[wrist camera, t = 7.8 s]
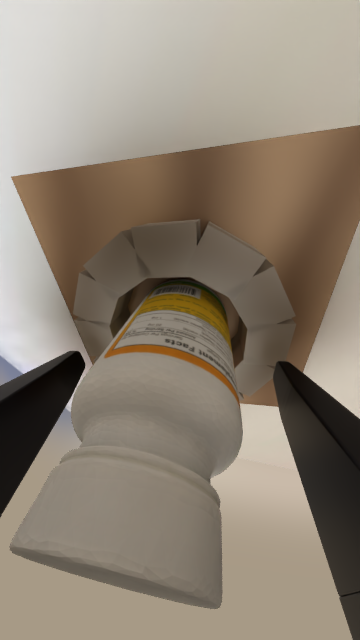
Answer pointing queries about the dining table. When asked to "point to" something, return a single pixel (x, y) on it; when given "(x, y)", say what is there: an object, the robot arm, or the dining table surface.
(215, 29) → the dining table surface
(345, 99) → the dining table surface
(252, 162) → the collar board
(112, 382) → the supplement bottle
